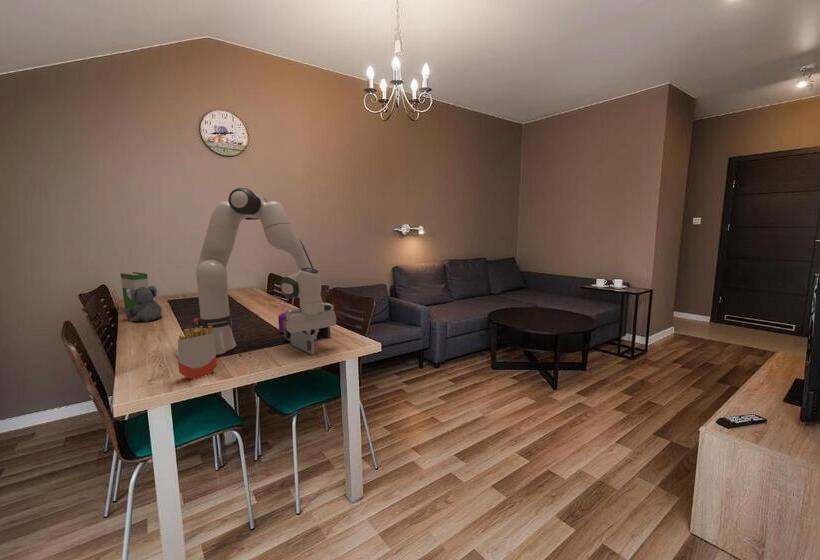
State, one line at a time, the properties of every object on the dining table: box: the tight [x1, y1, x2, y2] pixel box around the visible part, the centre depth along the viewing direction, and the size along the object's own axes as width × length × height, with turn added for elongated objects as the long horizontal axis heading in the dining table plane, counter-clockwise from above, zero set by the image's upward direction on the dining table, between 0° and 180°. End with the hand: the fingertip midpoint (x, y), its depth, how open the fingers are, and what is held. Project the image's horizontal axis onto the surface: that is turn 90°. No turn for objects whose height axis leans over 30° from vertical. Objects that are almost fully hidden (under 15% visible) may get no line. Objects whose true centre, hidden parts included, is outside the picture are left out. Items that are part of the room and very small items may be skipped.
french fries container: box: [177, 326, 218, 380], centre depth 129 cm, size 5×11×18 cm, turn 140°
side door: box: [290, 332, 315, 355], centre depth 156 cm, size 18×2×8 cm, turn 45°
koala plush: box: [124, 284, 163, 323], centre depth 208 cm, size 17×18×20 cm
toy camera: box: [277, 309, 290, 334], centre depth 184 cm, size 11×14×10 cm
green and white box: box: [120, 271, 150, 311], centre depth 227 cm, size 18×7×24 cm, turn 57°
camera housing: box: [283, 322, 332, 344], centre depth 172 cm, size 19×11×9 cm, turn 123°
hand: (312, 339), depth 154 cm, fingers closed
